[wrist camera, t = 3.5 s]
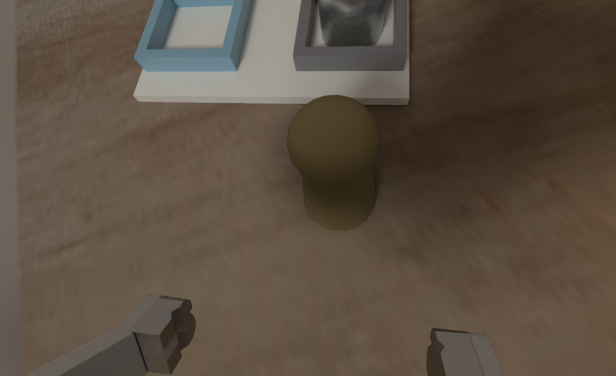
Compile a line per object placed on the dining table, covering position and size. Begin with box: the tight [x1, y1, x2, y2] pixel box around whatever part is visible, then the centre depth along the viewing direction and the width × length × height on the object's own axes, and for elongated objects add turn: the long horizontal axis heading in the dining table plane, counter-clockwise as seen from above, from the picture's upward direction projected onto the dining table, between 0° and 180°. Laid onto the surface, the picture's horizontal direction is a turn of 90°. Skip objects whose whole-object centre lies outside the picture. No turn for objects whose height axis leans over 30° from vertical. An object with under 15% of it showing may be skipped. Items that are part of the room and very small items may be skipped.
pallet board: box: [133, 0, 409, 105], centre depth 32 cm, size 27×16×3 cm, turn 84°
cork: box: [287, 95, 380, 230], centre depth 21 cm, size 6×6×11 cm
